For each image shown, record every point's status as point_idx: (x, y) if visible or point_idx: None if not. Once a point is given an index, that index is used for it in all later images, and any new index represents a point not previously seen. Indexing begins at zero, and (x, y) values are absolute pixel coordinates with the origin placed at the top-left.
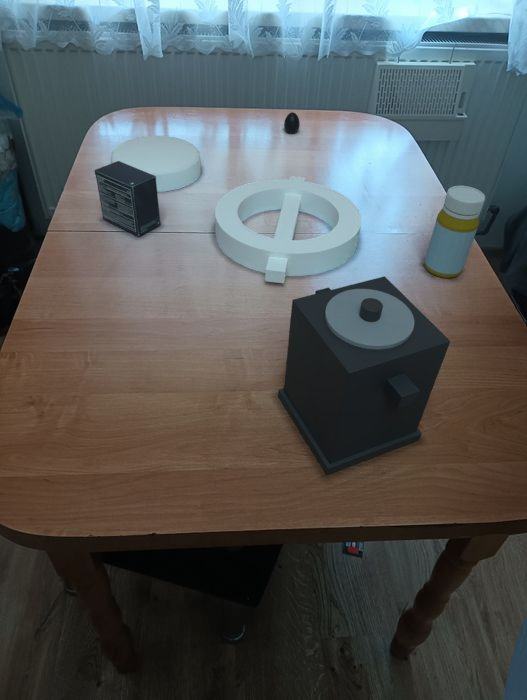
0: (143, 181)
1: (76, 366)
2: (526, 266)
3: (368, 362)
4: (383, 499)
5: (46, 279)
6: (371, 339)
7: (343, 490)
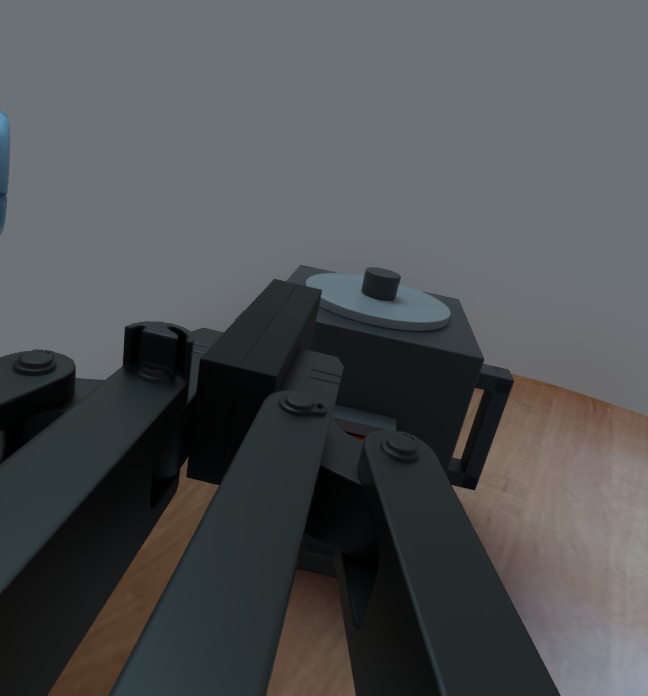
0: None
1: (526, 401)
2: (311, 343)
3: (301, 272)
4: (188, 457)
5: None
6: (331, 277)
7: None
